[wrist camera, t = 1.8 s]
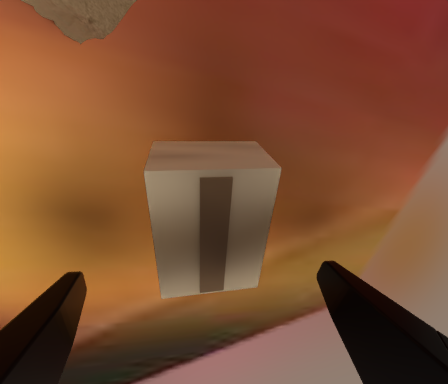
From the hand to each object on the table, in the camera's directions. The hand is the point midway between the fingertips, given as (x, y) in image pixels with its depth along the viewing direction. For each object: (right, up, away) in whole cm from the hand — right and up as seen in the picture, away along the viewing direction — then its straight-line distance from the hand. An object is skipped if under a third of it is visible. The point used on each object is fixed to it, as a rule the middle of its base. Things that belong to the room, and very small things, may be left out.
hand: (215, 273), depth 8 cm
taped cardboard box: (-1, +3, +4) cm, 5 cm away
